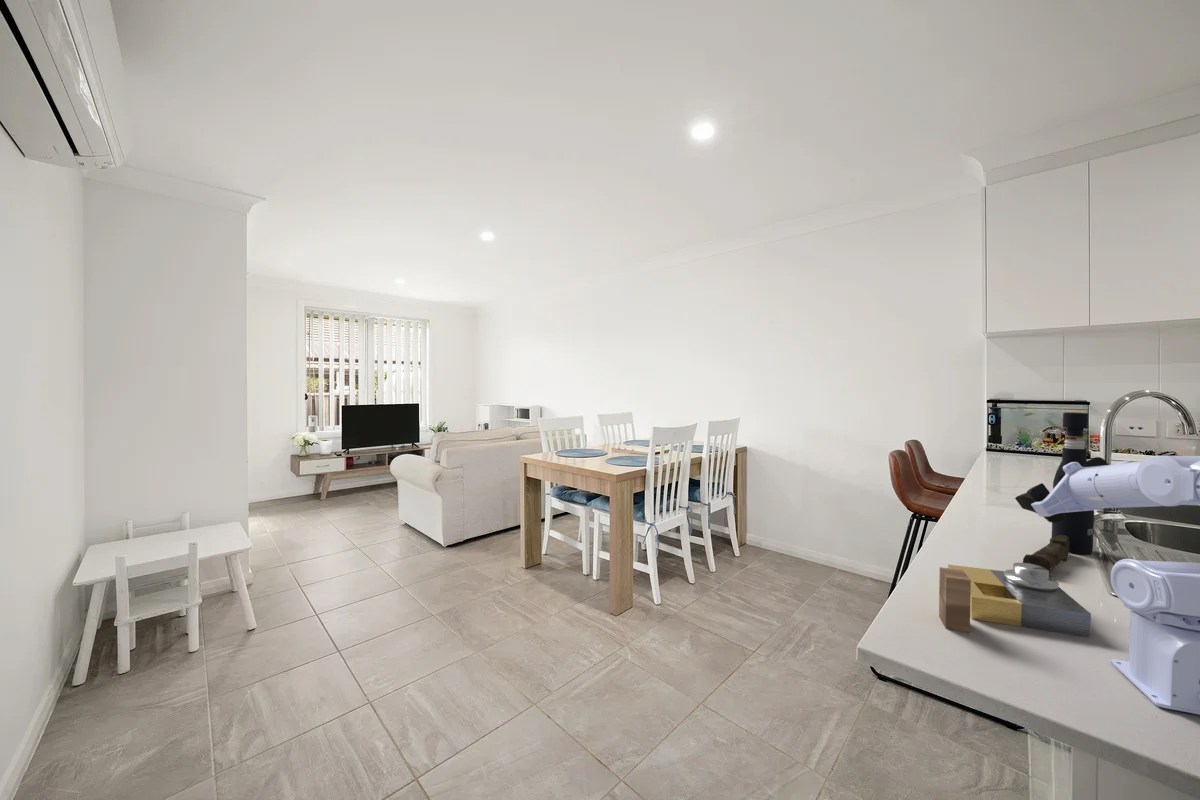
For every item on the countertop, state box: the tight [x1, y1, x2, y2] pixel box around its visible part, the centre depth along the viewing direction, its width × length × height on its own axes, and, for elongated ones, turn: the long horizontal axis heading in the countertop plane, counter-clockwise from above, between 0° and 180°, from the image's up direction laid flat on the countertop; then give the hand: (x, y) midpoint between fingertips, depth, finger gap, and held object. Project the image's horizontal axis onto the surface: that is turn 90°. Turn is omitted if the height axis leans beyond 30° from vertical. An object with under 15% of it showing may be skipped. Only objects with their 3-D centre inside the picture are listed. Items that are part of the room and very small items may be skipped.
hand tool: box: [1022, 535, 1070, 573], centre depth 95 cm, size 19×4×5 cm, turn 120°
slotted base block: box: [947, 562, 1092, 638], centre depth 77 cm, size 14×14×6 cm
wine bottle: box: [1051, 411, 1095, 556], centre depth 102 cm, size 6×6×30 cm
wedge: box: [938, 566, 971, 633], centre depth 72 cm, size 4×3×8 cm
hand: (1042, 492), depth 77 cm, fingers open, 7 cm apart
